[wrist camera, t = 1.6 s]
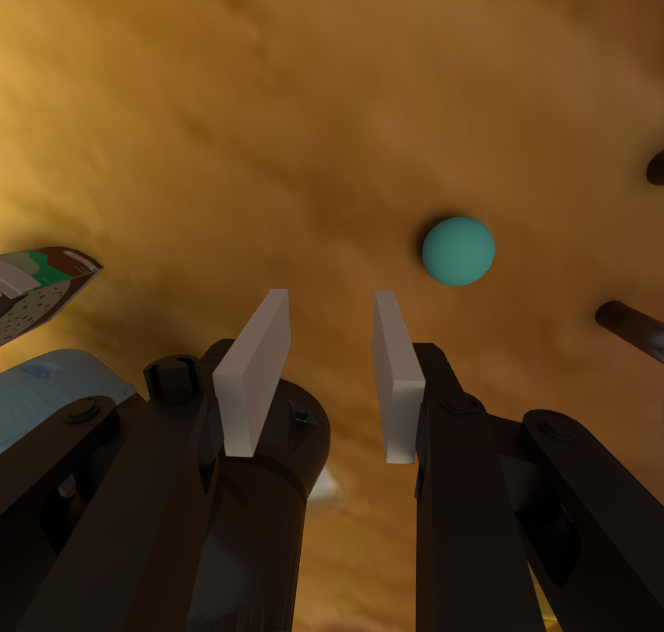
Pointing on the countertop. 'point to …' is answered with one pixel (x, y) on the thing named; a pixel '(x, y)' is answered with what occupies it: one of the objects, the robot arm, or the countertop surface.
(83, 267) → the food container
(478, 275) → the ball
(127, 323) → the countertop surface
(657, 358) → the post
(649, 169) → the post
